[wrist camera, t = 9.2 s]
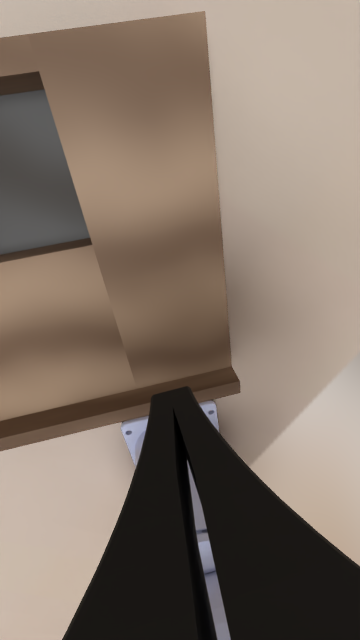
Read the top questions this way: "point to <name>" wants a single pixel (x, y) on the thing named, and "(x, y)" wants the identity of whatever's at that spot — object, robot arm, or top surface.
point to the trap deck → (108, 226)
